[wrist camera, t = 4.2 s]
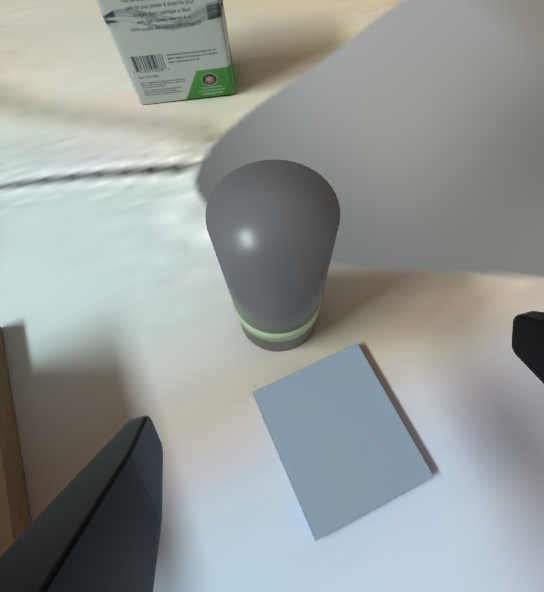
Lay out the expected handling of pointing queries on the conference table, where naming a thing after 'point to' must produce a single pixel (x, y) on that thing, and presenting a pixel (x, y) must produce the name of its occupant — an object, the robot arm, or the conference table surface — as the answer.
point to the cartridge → (274, 247)
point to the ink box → (172, 47)
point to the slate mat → (340, 440)
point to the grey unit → (10, 466)
